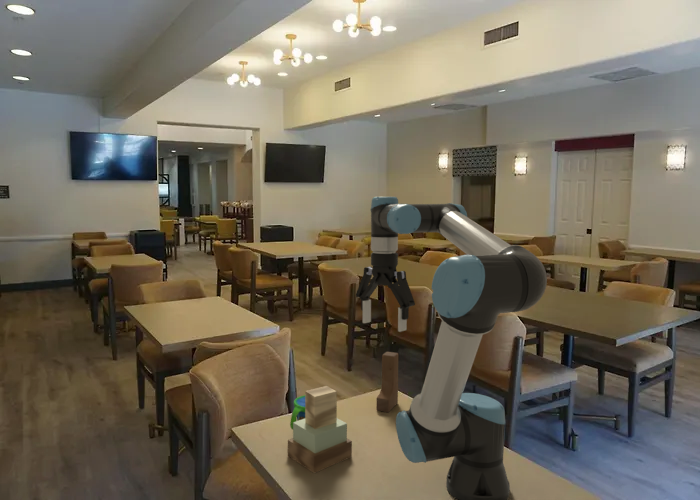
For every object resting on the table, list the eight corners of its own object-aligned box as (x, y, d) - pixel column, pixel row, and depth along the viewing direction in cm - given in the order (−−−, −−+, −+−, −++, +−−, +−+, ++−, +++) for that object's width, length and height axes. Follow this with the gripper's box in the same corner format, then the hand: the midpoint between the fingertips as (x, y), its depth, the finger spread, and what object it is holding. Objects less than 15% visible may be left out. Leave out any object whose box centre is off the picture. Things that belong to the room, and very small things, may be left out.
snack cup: (319, 419, 168) (319, 389, 167) (342, 430, 161) (342, 398, 160) (280, 435, 157) (279, 402, 156) (302, 447, 150) (301, 413, 149)
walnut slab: (351, 458, 145) (351, 440, 144) (314, 474, 136) (314, 456, 136) (324, 442, 154) (324, 426, 153) (287, 457, 145) (287, 439, 145)
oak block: (336, 422, 144) (336, 391, 143) (314, 429, 140) (314, 396, 139) (326, 416, 148) (326, 385, 147) (305, 422, 144) (305, 391, 143)
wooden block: (388, 413, 174) (389, 360, 172) (375, 410, 176) (376, 358, 174) (398, 403, 182) (398, 352, 180) (386, 401, 184) (386, 351, 182)
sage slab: (346, 440, 145) (346, 423, 144) (315, 453, 137) (314, 435, 137) (324, 428, 152) (324, 411, 152) (293, 439, 145) (293, 422, 144)
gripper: (428, 254, 140) (427, 332, 142) (362, 248, 158) (361, 317, 160) (410, 256, 135) (409, 337, 137) (344, 249, 153) (344, 321, 155)
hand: (383, 326), depth 149 cm, fingers open, 13 cm apart
